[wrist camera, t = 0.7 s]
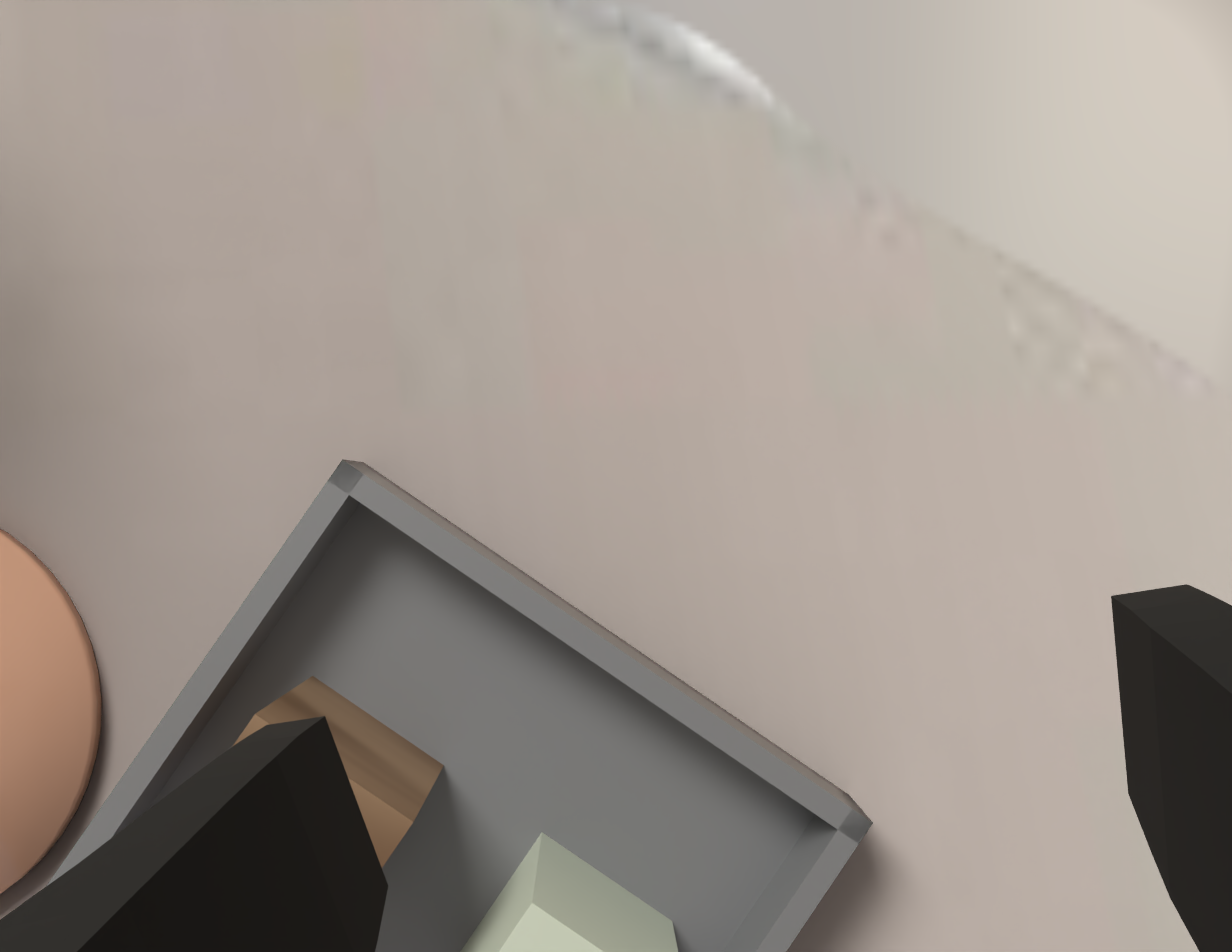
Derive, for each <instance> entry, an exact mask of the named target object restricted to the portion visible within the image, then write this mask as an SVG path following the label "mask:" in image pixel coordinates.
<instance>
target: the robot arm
mask: <svg viewBox="0 0 1232 952" xmlns="http://www.w3.org/2000/svg"><path fill="white" fill-rule="evenodd" d="M1111 599H1112V611H1113V622H1114V634H1115V645H1116V656H1117V668H1118V679H1119V691H1120V702H1121V714H1122V725H1123V737H1124V748H1125V760H1126V771H1127V783H1128V794H1129V796H1130V799H1131V801H1132V804H1133V806H1134V809H1135V812H1136V814H1137V817H1138V819H1139V822H1140V824H1141V827H1142V829H1143V832H1144V835H1145V837H1146V840H1147V842H1148V845H1149V847H1150V850H1151V852H1152V855H1153V857H1154V860H1155V862H1156V864H1157V867H1158V869H1159V872H1160V874H1161V877H1162V879H1163V881H1164V884H1165V886H1166V889H1167V891H1168V893H1169V896H1170V898H1171V900H1172V902H1173V904H1174V906H1175V907H1176V909H1177V911H1178V913H1179V915H1180V917H1181V919H1182V920H1183V922H1184V924H1185V926H1186V928H1187V930H1188V931H1189V933H1190V935H1191V937H1192V939H1193V940H1194V942H1195V944H1196V946H1197V948H1198V950H1199V951H1200V952H1232V606H1231V605H1229V604H1228V603H1226V602H1224V601H1222V600H1220V599H1218V598H1216V597H1214V596H1211V595H1209V594H1207V593H1205V592H1203V591H1201V590H1199V589H1196V588H1194V587H1192V586H1190V585H1180V586H1174V587H1167V588H1160V589H1154V590H1147V591H1141V592H1134V593H1128V594H1121V595H1115V596H1111ZM387 890H388V883H387V881H386V878H385V875H384V873H383V870H382V867H381V865H380V862H379V859H378V857H377V854H376V851H375V849H374V846H373V843H372V841H371V838H370V835H369V833H368V830H367V827H366V824H365V822H364V819H363V816H362V814H361V811H360V808H359V806H358V803H357V800H356V798H355V795H354V792H353V790H352V787H351V784H350V782H349V779H348V776H347V774H346V771H345V768H344V765H343V763H342V760H341V757H340V755H339V752H338V749H337V747H336V744H335V741H334V739H333V736H332V733H331V731H330V728H329V725H328V723H327V720H326V717H325V716H322V717H315V718H309V719H302V720H296V721H289V722H283V723H276V724H270V725H266V726H264V727H262V728H261V729H259V730H257V731H256V732H254V733H252V734H251V735H249V736H247V737H246V738H244V739H243V740H241V741H240V742H238V743H237V744H235V745H234V746H233V747H231V748H230V749H228V750H227V751H225V752H224V753H223V754H221V755H220V756H219V757H217V758H216V759H214V760H213V761H212V762H210V763H209V764H208V765H206V766H205V767H204V768H202V769H201V770H200V771H198V772H197V773H196V774H194V775H193V776H192V777H190V778H189V779H188V780H186V781H185V782H184V783H182V784H181V785H180V786H179V787H177V788H176V789H175V790H173V791H172V792H171V793H169V794H168V795H167V796H165V797H164V798H163V799H162V800H160V801H159V802H158V803H156V804H155V805H154V806H152V807H151V808H150V809H149V810H147V811H146V812H145V813H143V814H142V815H141V816H139V817H138V818H137V819H136V820H134V821H133V822H132V823H130V824H129V825H128V826H126V827H125V828H124V829H123V830H121V831H120V832H119V833H117V834H116V835H115V836H113V837H112V838H111V839H110V840H108V841H107V842H106V843H104V844H103V845H102V846H100V847H99V848H98V849H97V850H95V851H94V852H93V853H91V854H90V855H89V856H87V857H86V858H85V859H83V860H82V861H81V862H79V863H78V864H77V865H75V866H74V867H73V868H71V869H70V870H68V871H67V872H66V873H64V874H63V875H62V876H60V877H59V878H57V879H56V880H55V881H53V882H52V883H51V884H49V885H48V886H46V887H45V888H44V889H42V890H41V891H39V892H38V893H37V894H35V895H34V896H33V897H31V898H30V899H28V900H27V901H26V902H24V903H23V904H22V905H20V906H19V907H17V908H16V909H15V910H13V911H12V912H11V913H9V914H8V915H6V916H5V917H4V918H2V919H1V920H0V952H375V950H376V946H377V941H378V936H379V931H380V926H381V921H382V916H383V911H384V906H385V900H386V895H387Z"/></svg>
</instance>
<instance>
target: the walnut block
mask: <svg viewBox="0 0 1232 952" xmlns="http://www.w3.org/2000/svg"><path fill="white" fill-rule="evenodd" d="M322 716H325V717H326V720H327V723H328V725H329V728H330V731H331V733H332V736H333V739H334V741H335V744H336V747H337V749H338V752H339V755H340V757H341V760H342V763H343V765H344V768H345V771H346V774H347V776H348V779H349V782H350V784H351V787H352V790H353V792H354V795H355V798H356V800H357V803H358V806H359V808H360V811H361V814H362V816H363V819H364V822H365V824H366V827H367V830H368V833H369V835H370V838H371V841H372V843H373V846H374V849H375V851H376V854H377V857H378V859H379V862H380V865H381V867H383V866H384V864H385V863H386V861H387V860H388V858H389V857H390V855H391V854H392V853H393V851H394V850H395V848H396V847H397V845H398V844H399V842H400V841H401V839H402V838H403V837H404V835H405V834H406V832H407V831H408V829H409V828H410V826H411V825H412V823H413V822H414V820H415V818H416V816H417V814H418V813H419V811H420V809H421V807H422V805H423V803H424V801H425V799H426V798H427V796H428V794H429V792H430V790H431V788H432V786H433V785H434V783H435V781H436V779H437V777H438V775H439V773H440V771H441V770H442V768H443V766H444V765H443V764H441V763H440V762H438V761H437V760H435V759H434V758H432V757H431V756H430V755H428V754H427V753H425V752H424V751H422V750H421V749H419V748H418V747H416V746H415V745H413V744H412V743H411V742H409V741H408V740H406V739H405V738H403V737H402V736H400V735H399V734H397V733H396V732H394V731H393V730H391V729H390V728H389V727H387V726H386V725H384V724H383V723H381V722H380V721H378V720H377V719H375V718H374V717H372V716H371V715H369V714H368V713H367V712H365V711H364V710H362V709H361V708H359V707H358V706H356V705H355V704H353V703H352V702H350V701H349V700H348V699H346V698H345V697H343V696H342V695H340V694H339V693H337V692H336V691H334V690H333V689H331V688H330V687H328V686H327V685H326V684H324V683H323V682H321V681H320V680H318V679H317V678H315V677H314V676H312V677H310V678H309V679H307V680H306V681H304V682H303V683H301V684H300V685H298V686H297V687H295V688H293V689H292V690H290V691H289V692H287V693H286V694H284V695H283V696H281V697H280V698H278V699H277V700H275V701H274V702H272V703H271V704H269V705H268V706H266V707H265V708H263V709H262V710H260V711H259V712H257V713H256V714H255V715H254V716H253V717H252V719H251V720H250V722H249V723H248V725H247V726H246V728H245V729H244V731H243V732H242V733H241V735H240V736H239V738H238V739H237V741H236V742H235V744H237V743H238V742H240V741H241V740H243V739H244V738H246V737H247V736H249V735H251V734H252V733H254V732H256V731H257V730H259V729H261V728H262V727H264V726H266V725H270V724H276V723H283V722H289V721H296V720H302V719H309V718H315V717H322ZM235 744H234V745H235ZM234 745H233V746H234ZM233 746H232V747H233Z"/></svg>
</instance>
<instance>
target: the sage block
mask: <svg viewBox="0 0 1232 952" xmlns="http://www.w3.org/2000/svg"><path fill="white" fill-rule="evenodd" d="M460 952H678V948H677V943H676V938H675V933H674V927H673V922H672V921H671V920H670V919H668V918H667V917H665V916H664V915H663V914H661V913H660V912H658V911H657V910H655V909H654V908H652V907H651V906H649V905H648V904H646V903H645V902H644V901H642V900H641V899H639V898H638V897H636V896H635V895H633V894H632V893H630V892H629V891H627V890H626V889H624V888H623V887H622V886H620V885H619V884H617V883H616V882H614V881H613V880H611V879H610V878H608V877H607V876H605V875H604V874H602V873H601V872H600V871H598V870H597V869H595V868H594V867H592V866H591V865H589V864H588V863H586V862H585V861H583V860H582V859H580V858H579V857H578V856H576V855H575V854H573V853H572V852H570V851H569V850H567V849H566V848H564V847H563V846H561V845H560V844H559V843H557V842H556V841H554V840H553V839H551V838H550V837H548V836H547V835H545V834H544V833H541V834H540V836H539V837H538V839H537V840H536V842H535V843H534V844H533V846H532V847H531V849H530V850H529V852H528V853H527V855H526V856H525V858H524V859H523V861H522V862H521V863H520V865H519V866H518V868H517V869H516V871H515V872H514V874H513V875H512V877H511V878H510V880H509V881H508V883H507V884H506V885H505V887H504V888H503V890H502V891H501V893H500V894H499V896H498V897H497V899H496V900H495V902H494V903H493V905H492V906H491V907H490V909H489V910H488V912H487V913H486V915H485V916H484V918H483V919H482V921H481V922H480V924H479V925H478V927H477V928H476V929H475V931H474V932H473V934H472V935H471V937H470V938H469V940H468V941H467V943H466V944H465V946H464V947H463V949H462V950H461V951H460Z"/></svg>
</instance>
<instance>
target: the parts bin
mask: <svg viewBox="0 0 1232 952" xmlns="http://www.w3.org/2000/svg"><path fill="white" fill-rule="evenodd" d="M312 676H314V677H315V678H317V679H318V680H320V681H321V682H323V683H324V684H326V685H327V686H328V687H330V688H331V689H333V690H334V691H336V692H337V693H339V694H340V695H342V696H343V697H345V698H346V699H348V700H349V701H350V702H352V703H353V704H355V705H356V706H358V707H359V708H361V709H362V710H364V711H365V712H367V713H368V714H369V715H371V716H372V717H374V718H375V719H377V720H378V721H380V722H381V723H383V724H384V725H386V726H387V727H389V728H390V729H391V730H393V731H394V732H396V733H397V734H399V735H400V736H402V737H403V738H405V739H406V740H408V741H409V742H411V743H412V744H413V745H415V746H416V747H418V748H419V749H421V750H422V751H424V752H425V753H427V754H428V755H430V756H431V757H432V758H434V759H435V760H437V761H438V762H440V763H441V764H443V765H444V766H443V768H442V770H441V771H440V773H439V775H438V777H437V779H436V781H435V783H434V785H433V786H432V788H431V790H430V792H429V794H428V796H427V798H426V799H425V801H424V803H423V805H422V807H421V809H420V811H419V813H418V814H417V816H416V818H415V820H414V822H413V823H412V825H411V826H410V828H409V829H408V831H407V832H406V834H405V835H404V837H403V838H402V839H401V841H400V842H399V844H398V845H397V847H396V848H395V850H394V851H393V853H392V854H391V855H390V857H389V858H388V860H387V861H386V863H385V864H384V866H383V867H382V870H383V873H384V875H385V878H386V881H387V883H388V890H387V895H386V900H385V906H384V911H383V916H382V921H381V926H380V931H379V936H378V941H377V946H376V950H375V952H460V951H461V950H462V949H463V947H464V946H465V944H466V943H467V941H468V940H469V938H470V937H471V935H472V934H473V932H474V931H475V929H476V928H477V927H478V925H479V924H480V922H481V921H482V919H483V918H484V916H485V915H486V913H487V912H488V910H489V909H490V907H491V906H492V905H493V903H494V902H495V900H496V899H497V897H498V896H499V894H500V893H501V891H502V890H503V888H504V887H505V885H506V884H507V883H508V881H509V880H510V878H511V877H512V875H513V874H514V872H515V871H516V869H517V868H518V866H519V865H520V863H521V862H522V861H523V859H524V858H525V856H526V855H527V853H528V852H529V850H530V849H531V847H532V846H533V844H534V843H535V842H536V840H537V839H538V837H539V836H540V834H541V833H544V834H545V835H547V836H548V837H550V838H551V839H553V840H554V841H556V842H557V843H559V844H560V845H561V846H563V847H564V848H566V849H567V850H569V851H570V852H572V853H573V854H575V855H576V856H578V857H579V858H580V859H582V860H583V861H585V862H586V863H588V864H589V865H591V866H592V867H594V868H595V869H597V870H598V871H600V872H601V873H602V874H604V875H605V876H607V877H608V878H610V879H611V880H613V881H614V882H616V883H617V884H619V885H620V886H622V887H623V888H624V889H626V890H627V891H629V892H630V893H632V894H633V895H635V896H636V897H638V898H639V899H641V900H642V901H644V902H645V903H646V904H648V905H649V906H651V907H652V908H654V909H655V910H657V911H658V912H660V913H661V914H663V915H664V916H665V917H667V918H668V919H670V920H671V921H672V922H673V927H674V933H675V938H676V943H677V948H678V952H786V951H787V950H788V948H789V947H790V945H791V944H792V942H793V941H794V939H795V938H796V936H797V935H798V933H799V932H800V930H801V929H802V928H803V926H804V925H805V923H806V922H807V920H808V919H809V917H810V916H811V914H812V913H813V911H814V910H815V908H816V907H817V905H818V904H819V902H820V901H821V899H822V898H823V896H824V895H825V893H826V892H827V890H828V889H829V887H830V886H831V884H832V883H833V881H834V880H835V879H836V877H837V876H838V874H839V873H840V871H841V870H842V868H843V867H844V865H845V864H846V862H847V861H848V859H849V858H850V856H851V855H852V853H853V852H854V850H855V849H856V847H857V846H858V844H859V843H860V841H861V840H862V838H863V837H864V835H865V834H866V832H867V831H868V830H869V828H870V827H871V825H872V824H873V822H872V821H871V820H870V819H869V818H868V817H867V815H866V814H865V813H864V812H863V811H862V810H861V808H860V807H859V806H858V805H857V804H856V803H855V801H854V800H853V799H852V798H851V797H850V796H849V795H848V794H847V793H845V792H844V791H842V790H841V789H839V788H838V787H836V786H835V785H834V784H832V783H831V782H829V781H828V780H826V779H825V778H823V777H822V776H820V775H819V774H817V773H816V772H815V771H813V770H812V769H810V768H809V767H807V766H806V765H804V764H803V763H801V762H800V761H798V760H797V759H796V758H794V757H793V756H791V755H790V754H788V753H787V752H785V751H784V750H782V749H781V748H780V747H778V746H777V745H775V744H774V743H772V742H771V741H769V740H768V739H766V738H765V737H763V736H762V735H761V734H759V733H758V732H756V731H755V730H753V729H752V728H750V727H749V726H747V725H746V724H744V723H743V722H742V721H740V720H739V719H737V718H736V717H734V716H733V715H731V714H730V713H728V712H727V711H726V710H724V709H723V708H721V707H720V706H718V705H717V704H715V703H714V702H712V701H711V700H709V699H708V698H707V697H705V696H704V695H702V694H701V693H699V692H698V691H696V690H695V689H693V688H692V687H690V686H689V685H688V684H686V683H685V682H683V681H682V680H680V679H679V678H677V677H676V676H674V675H673V674H672V673H670V672H669V671H667V670H666V669H664V668H663V667H661V666H660V665H658V664H657V663H655V662H654V661H653V660H651V659H650V658H648V657H647V656H645V655H644V654H642V653H641V652H639V651H638V650H637V649H635V648H634V647H632V646H631V645H629V644H628V643H626V642H625V641H623V640H622V639H620V638H619V637H618V636H616V635H615V634H613V633H612V632H610V631H609V630H607V629H606V628H604V627H603V626H601V625H600V624H599V623H597V622H596V621H594V620H593V619H591V618H590V617H588V616H587V615H585V614H584V613H583V612H581V611H580V610H578V609H577V608H575V607H574V606H572V605H571V604H569V603H568V602H566V601H565V600H564V599H562V598H561V597H559V596H558V595H556V594H555V593H553V592H552V591H550V590H549V589H547V588H546V587H545V586H543V585H542V584H540V583H539V582H537V581H536V580H534V579H533V578H531V577H530V576H529V575H527V574H526V573H524V572H523V571H521V570H520V569H518V568H517V567H515V566H514V565H512V564H511V563H510V562H508V561H507V560H505V559H504V558H502V557H501V556H499V555H498V554H496V553H495V552H493V551H492V550H491V549H489V548H488V547H486V546H485V545H483V544H482V543H480V542H479V541H477V540H476V539H475V538H473V537H472V536H470V535H469V534H467V533H466V532H464V531H463V530H461V529H460V528H458V527H457V526H456V525H454V524H453V523H451V522H450V521H448V520H447V519H445V518H444V517H442V516H441V515H439V514H438V513H437V512H435V511H434V510H432V509H431V508H429V507H428V506H426V505H425V504H423V503H422V502H421V501H419V500H418V499H416V498H415V497H413V496H412V495H410V494H409V493H407V492H406V491H404V490H403V489H402V488H400V487H399V486H397V485H396V484H394V483H393V482H391V481H390V480H388V479H387V478H385V477H384V476H383V475H381V474H380V473H378V472H377V471H375V470H374V469H372V468H371V467H369V466H368V465H367V464H365V463H364V462H357V461H350V460H342V461H341V462H340V464H339V465H338V467H337V468H336V470H335V471H334V473H333V474H332V475H331V477H330V478H329V480H328V481H327V483H326V484H325V486H324V487H323V488H322V490H321V491H320V493H319V494H318V496H317V497H316V498H315V500H314V501H313V503H312V504H311V506H310V507H309V509H308V510H307V511H306V513H305V514H304V516H303V517H302V519H301V520H300V522H299V523H298V524H297V526H296V527H295V529H294V530H293V532H292V533H291V534H290V536H289V537H288V539H287V540H286V542H285V543H284V545H283V546H282V547H281V549H280V550H279V552H278V553H277V555H276V556H275V558H274V559H273V560H272V562H271V563H270V565H269V566H268V568H267V569H266V570H265V572H264V573H263V575H262V576H261V578H260V579H259V581H258V582H257V583H256V585H255V586H254V588H253V589H252V591H251V592H250V594H249V595H248V596H247V598H246V599H245V601H244V602H243V604H242V605H241V607H240V608H239V609H238V611H237V612H236V614H235V615H234V617H233V618H232V619H231V621H230V622H229V624H228V625H227V627H226V628H225V630H224V631H223V632H222V634H221V635H220V637H219V638H218V640H217V641H216V643H215V644H214V645H213V647H212V648H211V650H210V651H209V653H208V654H207V655H206V657H205V658H204V660H203V661H202V663H201V664H200V666H199V667H198V668H197V670H196V671H195V673H194V674H193V676H192V677H191V679H190V680H189V681H188V683H187V684H186V686H185V687H184V689H183V690H182V691H181V693H180V694H179V696H178V697H177V699H176V700H175V702H174V703H173V704H172V706H171V707H170V709H169V710H168V712H167V713H166V715H165V716H164V717H163V719H162V720H161V722H160V723H159V725H158V726H157V728H156V729H155V730H154V732H153V733H152V735H151V736H150V738H149V739H148V740H147V742H146V743H145V745H144V746H143V748H142V749H141V751H140V752H139V753H138V755H137V756H136V758H135V759H134V761H133V762H132V764H131V765H130V766H129V768H128V769H127V771H126V772H125V774H124V775H123V776H122V778H121V779H120V781H119V782H118V784H117V785H116V787H115V788H114V789H113V791H112V792H111V794H110V795H109V797H108V798H107V800H106V801H105V802H104V804H103V805H102V807H101V808H100V810H99V811H98V812H97V814H96V815H95V817H94V818H93V820H92V821H91V823H90V824H89V825H88V827H87V828H86V830H85V831H84V833H83V834H82V836H81V837H80V838H79V840H78V841H77V843H76V844H75V846H74V847H73V849H72V850H71V851H70V853H69V854H68V856H67V857H66V859H65V860H64V861H63V863H62V864H61V866H60V867H59V869H58V870H57V872H56V873H55V874H54V876H53V877H52V879H51V880H50V882H49V883H48V885H49V884H51V883H52V882H53V881H55V880H56V879H57V878H59V877H60V876H62V875H63V874H64V873H66V872H67V871H68V870H70V869H71V868H73V867H74V866H75V865H77V864H78V863H79V862H81V861H82V860H83V859H85V858H86V857H87V856H89V855H90V854H91V853H93V852H94V851H95V850H97V849H98V848H99V847H100V846H102V845H103V844H104V843H106V842H107V841H108V840H110V839H111V838H112V837H113V836H115V835H116V834H117V833H119V832H120V831H121V830H123V829H124V828H125V827H126V826H128V825H129V824H130V823H132V822H133V821H134V820H136V819H137V818H138V817H139V816H141V815H142V814H143V813H145V812H146V811H147V810H149V809H150V808H151V807H152V806H154V805H155V804H156V803H158V802H159V801H160V800H162V799H163V798H164V797H165V796H167V795H168V794H169V793H171V792H172V791H173V790H175V789H176V788H177V787H179V786H180V785H181V784H182V783H184V782H185V781H186V780H188V779H189V778H190V777H192V776H193V775H194V774H196V773H197V772H198V771H200V770H201V769H202V768H204V767H205V766H206V765H208V764H209V763H210V762H212V761H213V760H214V759H216V758H217V757H219V756H220V755H221V754H223V753H224V752H225V751H227V750H228V749H230V748H231V747H232V746H233V745H234V744H235V742H236V741H237V739H238V738H239V736H240V735H241V733H242V732H243V731H244V729H245V728H246V726H247V725H248V723H249V722H250V720H251V719H252V717H253V716H254V715H255V714H256V713H257V712H259V711H260V710H262V709H263V708H265V707H266V706H268V705H269V704H271V703H272V702H274V701H275V700H277V699H278V698H280V697H281V696H283V695H284V694H286V693H287V692H289V691H290V690H292V689H293V688H295V687H297V686H298V685H300V684H301V683H303V682H304V681H306V680H307V679H309V678H310V677H312ZM48 885H47V886H48Z"/></svg>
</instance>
